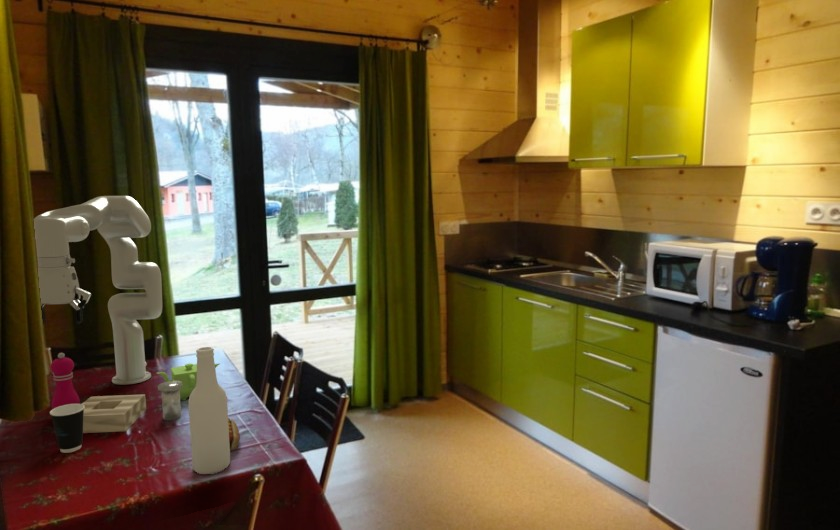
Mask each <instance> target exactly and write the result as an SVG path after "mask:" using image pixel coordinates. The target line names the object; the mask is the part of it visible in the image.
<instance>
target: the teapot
mask: <svg viewBox="0 0 840 530" xmlns="http://www.w3.org/2000/svg"><path fill="white" fill-rule="evenodd" d="M219 365H221V363H220V362H219V363H215V369H216V368H217V367H218V366H219ZM156 374H158V375H160V376H162V378H163V379H164V382H168V381H181V382H182V384H183V387H182V389H180V401H181V400H182V401H183V400H185V401H186V400H188V397H190V394H191V393H192V391H193V390H194V389H195V387H196V383H197V363H195V364H194V363H186V364H184V365H182V366H173V367H171V368H170V374H171V375H170V377H171V379H170V378H169V376H168V374H167V373H166V372H164V371H158V372H156Z"/></svg>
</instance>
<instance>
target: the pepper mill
mask: <svg viewBox="0 0 840 530" xmlns="http://www.w3.org/2000/svg"><path fill="white" fill-rule="evenodd" d="M74 368H75V363H74V361H73V360H72V359H71V358H70V357H66V355H65V353H64V352H59V353H58V354H57V358H55V359H54V360H53V361H52V362H51V363H50V371H51V373H53V375H52V376H53V381H55V390H54V393H53V396H52V399H51V408H52V409H54V408H56V407H59V406H62V405H67V404H81V403H80V402H81V401H80V396H79V395H78V393H77V391H76V390H75V387H74V386H73V382H72V381H73V379H72V378H73V377H74V375H73V374H74V372H73V370H74Z"/></svg>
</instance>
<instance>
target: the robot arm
mask: <svg viewBox="0 0 840 530" xmlns="http://www.w3.org/2000/svg"><path fill="white" fill-rule="evenodd" d="M33 220H34V229H35V238H34V239H35V247H36V248H35V249H36V256H37V257H36V258H37V268H38V277H39V288H40V298H41V310H42V319H43V324H42V325H44V324H46V313H45V312H46V311H45V309H44V306H45V305H68V304H69V305H70V306H71V307H72V308H73V309H74V310H73V311H72V315H73V325H79V324H81V323H82V322H83V320H84V315H83V314H84V313H83V312H84V311H83V309H84V308H85V306H86V305H87V304H88V303H89V301H90V298H91V296H92V293H91V292H89V291H87V290H84V289H82V288H80V282H79V278H78V276H77V275H78V274H77V272H76V269H75V267H74V266H71V265H72V264H75V263H76V259H75V257H73V258H72V257H71V255H70V245H69V243H72V242H73V243H77V242H81V241H84V240H85V239H87V238H88V236H89V234H90V231H94V230H97V232H98V233H99V234H100V236H101V237H102V238H103V239H104V241H105V242H106V244H107V245H108V247H109V250H110V260H111V261H110V262H111V280H112V284H113V286H114V287H115V288H116V289H119V290H145V292H123V293H122V292H121V293H117V294H114V295H112V296H111V297H110V298H109V300H108V302H107V309H108V314H109V318H110V321H111V325H112V326H111V327H112V335H113V345H114V346H113V348H114V359H115V361H114V362H115V372H116V374H115V376H113V377H112V378H111V382H112V384H114V385H124V386H127V385H135V384H138V383H144V382H146V381H147V380H149V379H150V378H151V377H152V373H151V372H149V371H147V369H146V367H147V365H148V362H146V355H145V340H144V331H143V327H142V326H141V324H140V323H139V322H138V321H137V320H156V319H157V318H159V317H161V314H162V313H163V287H162V286H163V285H162V273H161V269H160V266H159V265H158V264H157V263H155V262H151V261H141V262H140V261H139V255H138V252H139V251H138V247H137V245H136V243H135V241H133V240H132V239H135V238H136V239H139V238H141V239H142V238H145V237H147V236H148V235H149V234H150V232H151V231H152V222H151V219H150V217H149V216H148V214H147V213H146V211H145V210H144V209H143V207H142V206H141V205H140V204H139V202H138V200H135V199H134V198H133V197H132V196H129V195H103V196H102V195H100V196H96V197H94V198H91V199H89V200H87V201H86V202H83V203H81V204H76V205H70V206H67V207H63V208H57V209H53V210H49V211H45V212H43V213H41V214H39V215H36V216H35V217H34V218H33ZM81 296H82V300H81ZM80 300H81V301H80Z"/></svg>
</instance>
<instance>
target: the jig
mask: <svg viewBox="0 0 840 530" xmlns="http://www.w3.org/2000/svg"><path fill="white" fill-rule="evenodd" d="M81 404H83V405H84V406H85V408H84V415H83V434H89V433H90V434H91V433H113V432H114V433H116V432H117V433H118V432H126V431H127V430H128V429H129V428H130V427H131V426H133V424H134V423H135V422H136V421H137V420H138V419H139V418H140V417H141V416H142V415H143V414H144V413H146V411H147V401H146V394H145V393H144V394H124V395H123V394H121V395H102V396H101V395H97V396H90V397H89V398H87V399H86V400H85V401H83V402H82V403H81Z"/></svg>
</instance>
